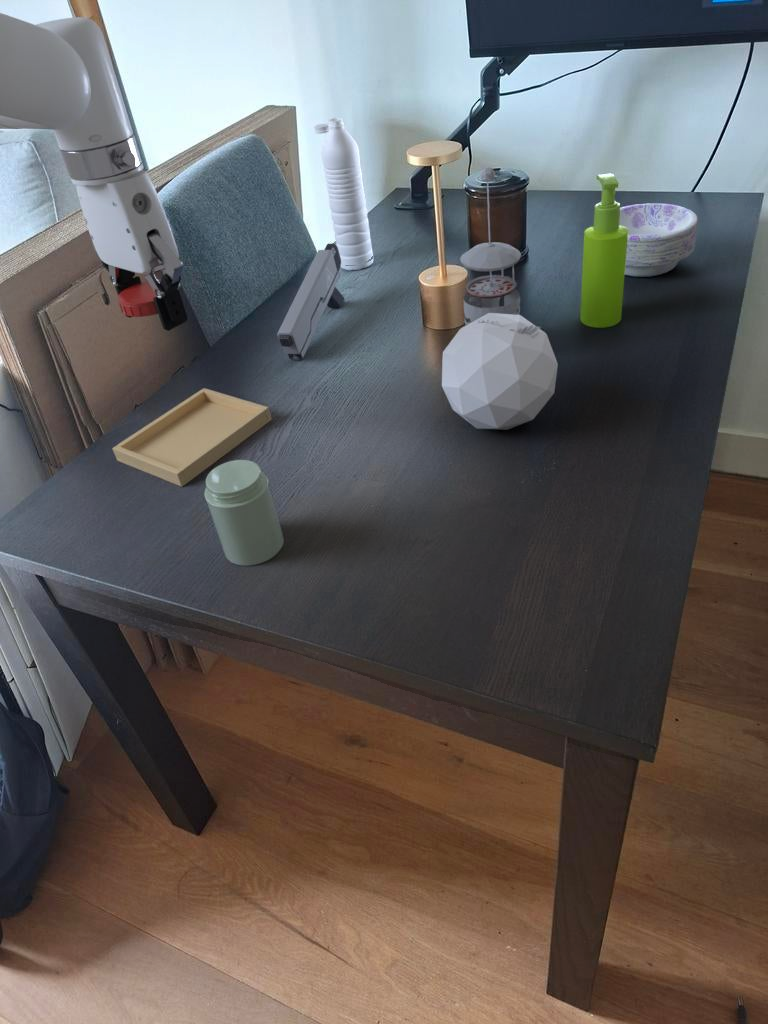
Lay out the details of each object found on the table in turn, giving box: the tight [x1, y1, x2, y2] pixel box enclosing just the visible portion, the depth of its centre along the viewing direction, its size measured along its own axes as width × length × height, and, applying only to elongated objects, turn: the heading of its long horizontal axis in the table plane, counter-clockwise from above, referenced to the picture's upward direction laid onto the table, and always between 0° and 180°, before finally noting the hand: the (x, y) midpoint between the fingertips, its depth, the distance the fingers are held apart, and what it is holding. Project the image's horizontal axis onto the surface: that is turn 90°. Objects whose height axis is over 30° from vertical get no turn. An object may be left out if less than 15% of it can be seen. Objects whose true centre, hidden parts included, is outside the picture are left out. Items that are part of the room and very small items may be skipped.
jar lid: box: [117, 278, 182, 318], centre depth 88 cm, size 7×7×2 cm
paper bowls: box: [619, 203, 699, 278], centre depth 124 cm, size 15×15×8 cm
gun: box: [276, 243, 345, 361], centre depth 121 cm, size 2×25×10 cm, turn 164°
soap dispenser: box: [579, 173, 628, 329], centre depth 108 cm, size 6×7×20 cm
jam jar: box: [203, 459, 285, 567], centre depth 79 cm, size 7×7×9 cm
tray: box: [111, 387, 273, 488], centre depth 100 cm, size 17×13×2 cm
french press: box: [459, 167, 522, 326], centre depth 103 cm, size 10×12×25 cm
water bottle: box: [313, 117, 374, 271], centre depth 134 cm, size 9×6×25 cm
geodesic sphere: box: [441, 313, 559, 431], centre depth 91 cm, size 15×14×14 cm
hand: (156, 318), depth 90 cm, fingers closed on jar lid, 6 cm apart
